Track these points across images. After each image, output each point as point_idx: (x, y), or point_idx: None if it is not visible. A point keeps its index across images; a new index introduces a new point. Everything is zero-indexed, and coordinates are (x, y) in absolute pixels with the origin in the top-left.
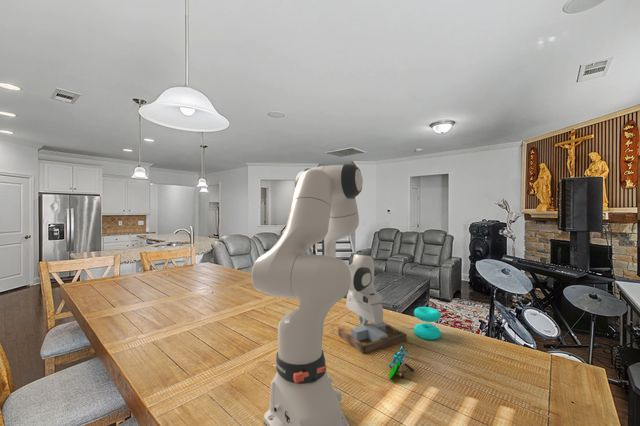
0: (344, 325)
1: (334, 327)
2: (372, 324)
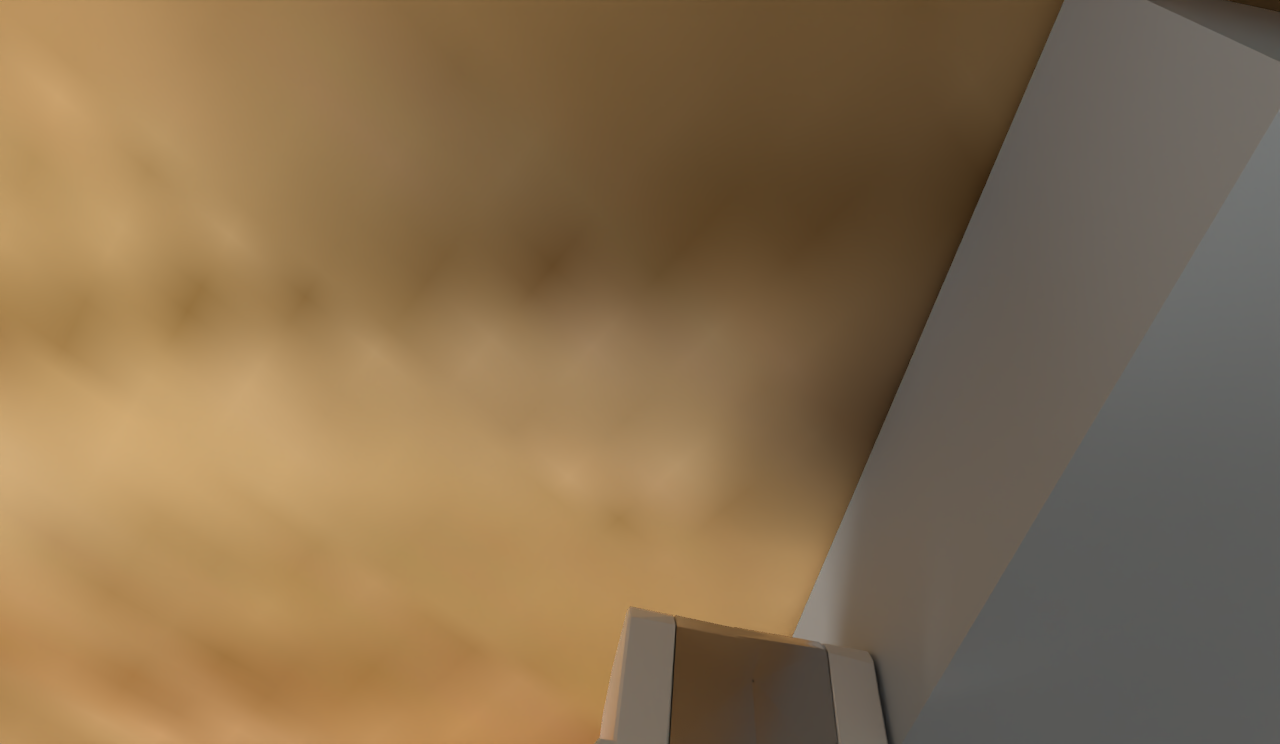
0: (74, 550)
1: (106, 736)
2: (1109, 643)
